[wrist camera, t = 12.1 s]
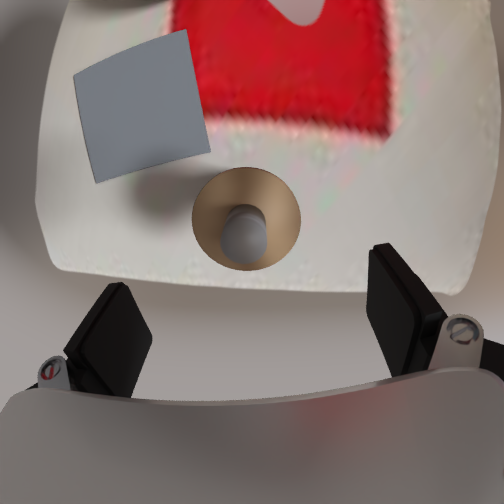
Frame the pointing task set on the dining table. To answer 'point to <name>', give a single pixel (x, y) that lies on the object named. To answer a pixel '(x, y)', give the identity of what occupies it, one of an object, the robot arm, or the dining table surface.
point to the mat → (141, 107)
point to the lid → (246, 219)
